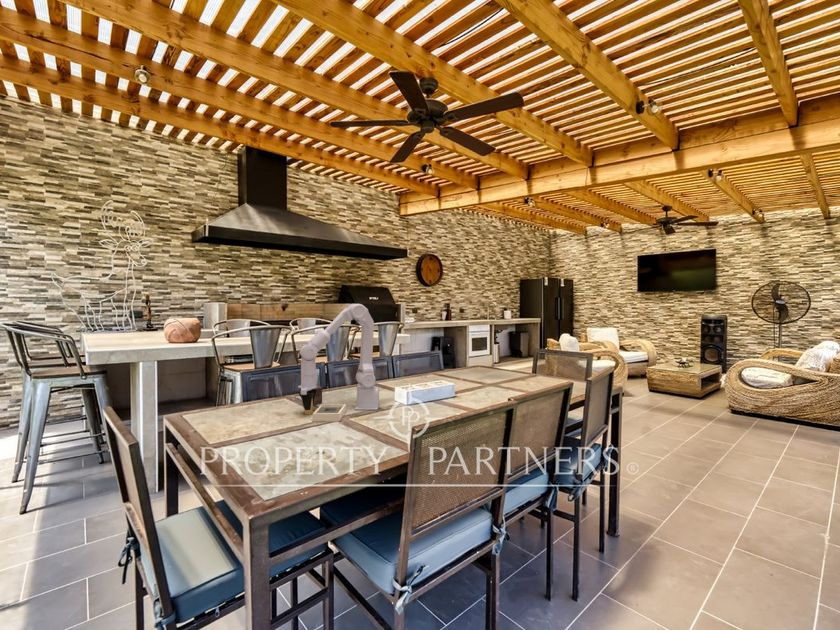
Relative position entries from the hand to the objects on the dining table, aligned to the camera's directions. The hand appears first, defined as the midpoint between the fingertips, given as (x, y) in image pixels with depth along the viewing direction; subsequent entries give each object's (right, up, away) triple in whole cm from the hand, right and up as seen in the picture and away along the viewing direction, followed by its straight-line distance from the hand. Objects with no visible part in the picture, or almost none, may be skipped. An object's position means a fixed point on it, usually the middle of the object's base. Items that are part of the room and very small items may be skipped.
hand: (308, 408), depth 162 cm
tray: (+10, -2, -4) cm, 10 cm away
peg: (0, -2, 0) cm, 2 cm away
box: (-2, -2, +15) cm, 15 cm away
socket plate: (+10, -2, -4) cm, 10 cm away
